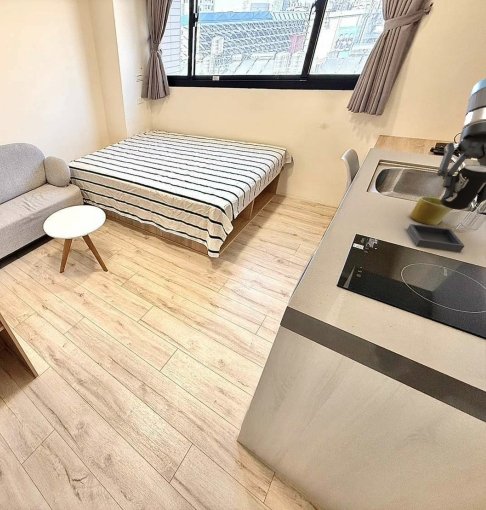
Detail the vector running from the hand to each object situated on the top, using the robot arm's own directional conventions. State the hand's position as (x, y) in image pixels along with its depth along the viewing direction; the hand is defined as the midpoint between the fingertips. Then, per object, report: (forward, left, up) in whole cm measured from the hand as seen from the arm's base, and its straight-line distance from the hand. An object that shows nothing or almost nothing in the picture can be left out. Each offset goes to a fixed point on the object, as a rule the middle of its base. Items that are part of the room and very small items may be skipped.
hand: (463, 199), depth 82 cm
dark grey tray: (0, -3, -17) cm, 17 cm away
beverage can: (0, -4, -4) cm, 5 cm away
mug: (-4, -20, -17) cm, 27 cm away
